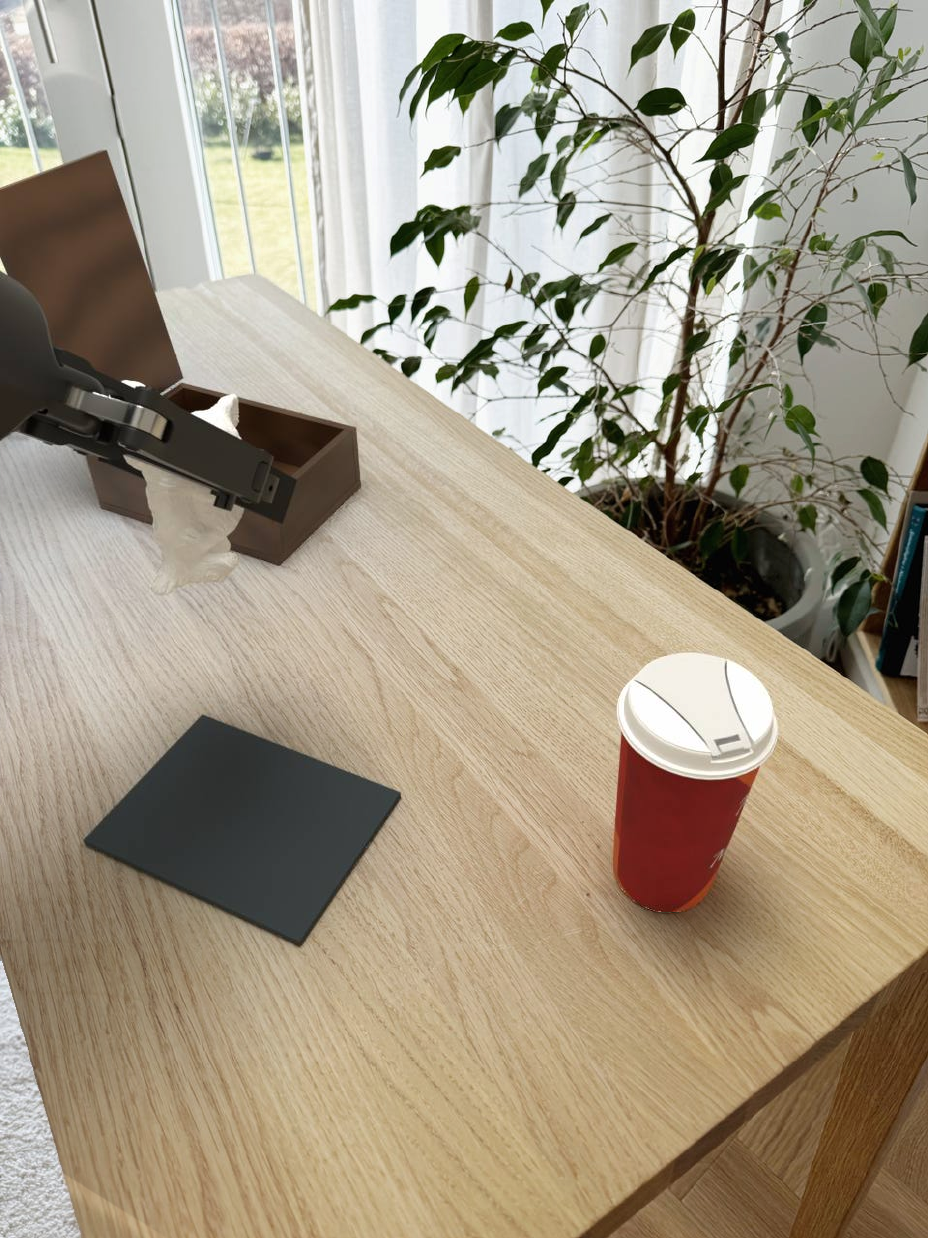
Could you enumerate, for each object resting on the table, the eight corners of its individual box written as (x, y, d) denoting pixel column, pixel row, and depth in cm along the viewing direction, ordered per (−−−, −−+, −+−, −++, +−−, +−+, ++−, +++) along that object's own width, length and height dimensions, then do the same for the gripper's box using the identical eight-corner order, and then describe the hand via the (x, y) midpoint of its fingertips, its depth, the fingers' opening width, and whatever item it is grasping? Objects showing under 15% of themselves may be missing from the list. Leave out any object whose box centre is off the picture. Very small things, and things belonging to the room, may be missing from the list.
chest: (361, 486, 92) (356, 427, 87) (279, 565, 82) (269, 503, 78) (193, 439, 98) (181, 382, 94) (100, 508, 89) (82, 448, 85)
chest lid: (107, 149, 81) (100, 149, 82) (-19, 196, 72) (-26, 197, 72) (184, 378, 93) (177, 377, 94) (84, 443, 84) (78, 443, 85)
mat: (84, 845, 61) (82, 840, 60) (203, 718, 69) (202, 713, 69) (300, 946, 55) (299, 942, 55) (401, 797, 64) (401, 792, 63)
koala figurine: (152, 621, 54) (97, 426, 46) (112, 563, 58) (56, 376, 51) (290, 569, 57) (260, 380, 50) (242, 518, 62) (208, 337, 54)
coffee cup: (755, 911, 57) (816, 739, 47) (626, 947, 55) (661, 776, 46) (691, 802, 63) (732, 630, 53) (573, 832, 61) (593, 659, 52)
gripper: (-304, 371, 39) (83, 504, 61) (72, 488, 33) (355, 590, 54) (-244, 195, 39) (121, 390, 61) (142, 277, 33) (396, 463, 54)
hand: (231, 484), depth 58 cm, fingers closed on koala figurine, 7 cm apart
